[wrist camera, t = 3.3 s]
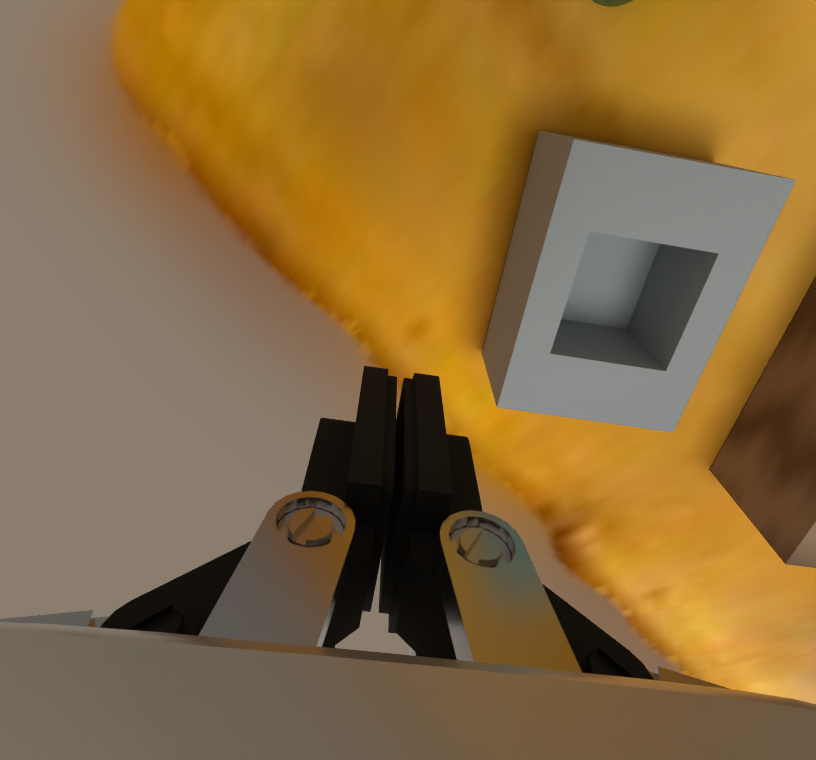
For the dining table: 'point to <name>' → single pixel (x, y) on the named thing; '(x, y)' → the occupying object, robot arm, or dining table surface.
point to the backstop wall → (779, 445)
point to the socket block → (622, 279)
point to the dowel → (612, 2)
